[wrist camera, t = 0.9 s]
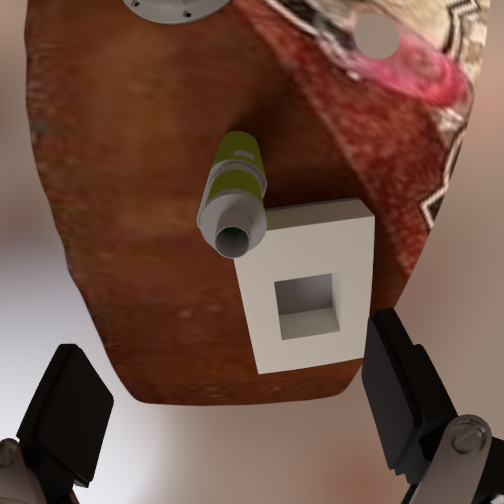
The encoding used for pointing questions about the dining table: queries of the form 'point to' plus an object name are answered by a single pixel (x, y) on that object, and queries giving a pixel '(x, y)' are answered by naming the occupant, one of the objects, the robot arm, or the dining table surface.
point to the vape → (234, 197)
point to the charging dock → (309, 284)
